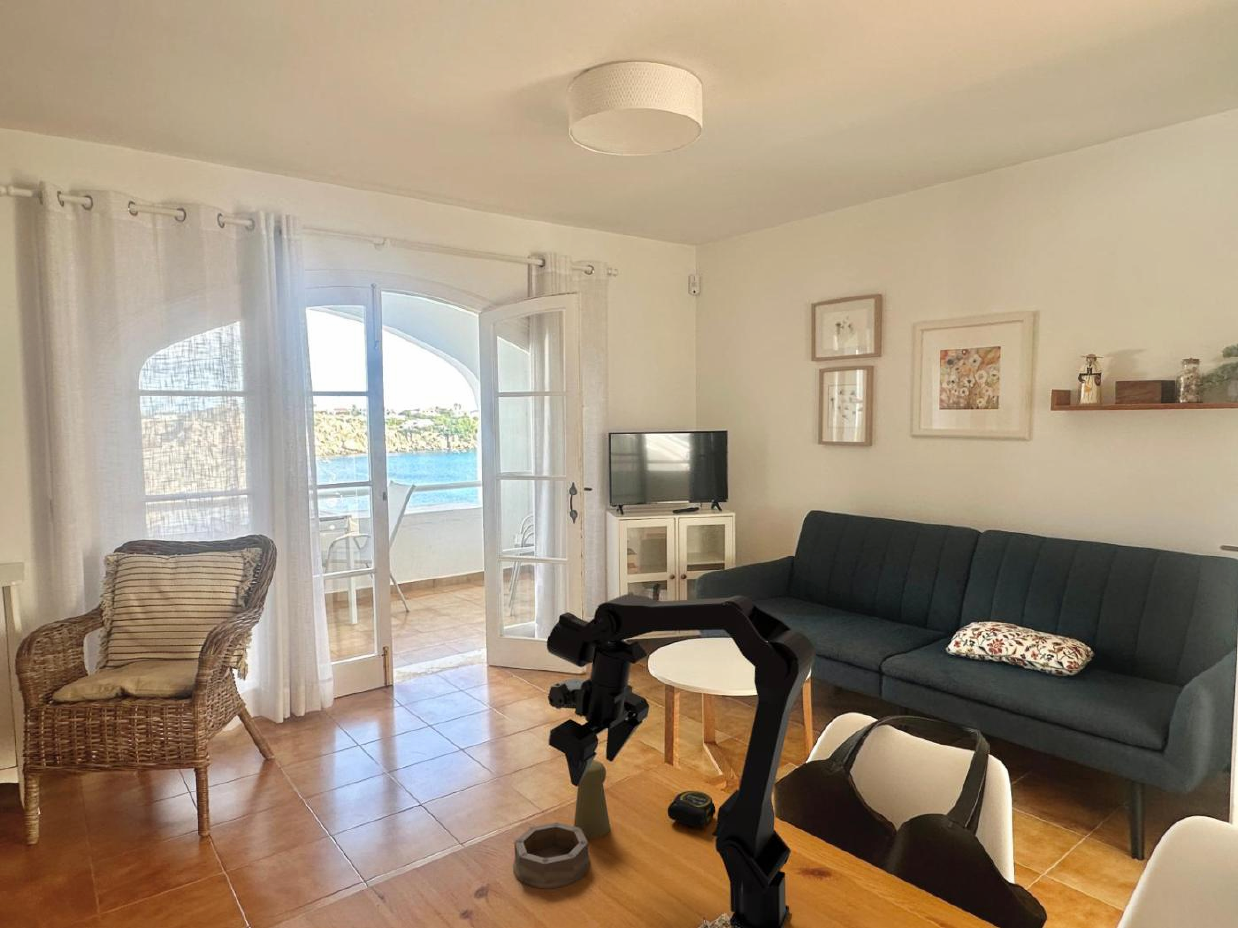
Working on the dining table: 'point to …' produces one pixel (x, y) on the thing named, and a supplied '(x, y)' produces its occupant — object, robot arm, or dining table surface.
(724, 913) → the dining table surface
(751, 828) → the robot arm
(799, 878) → the dining table surface
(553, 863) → the octagonal stone mortar
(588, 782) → the olive round-headed post
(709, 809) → the tape measure
